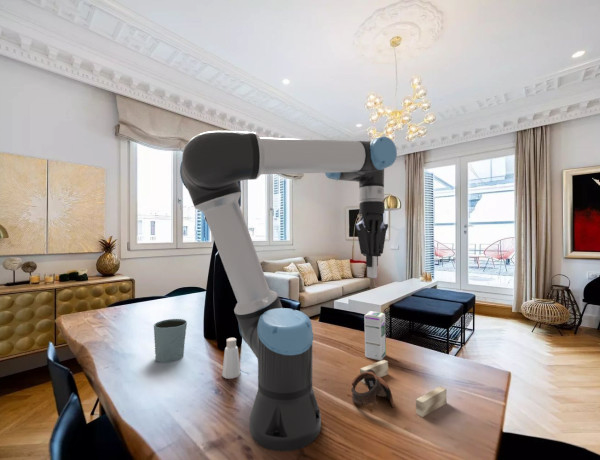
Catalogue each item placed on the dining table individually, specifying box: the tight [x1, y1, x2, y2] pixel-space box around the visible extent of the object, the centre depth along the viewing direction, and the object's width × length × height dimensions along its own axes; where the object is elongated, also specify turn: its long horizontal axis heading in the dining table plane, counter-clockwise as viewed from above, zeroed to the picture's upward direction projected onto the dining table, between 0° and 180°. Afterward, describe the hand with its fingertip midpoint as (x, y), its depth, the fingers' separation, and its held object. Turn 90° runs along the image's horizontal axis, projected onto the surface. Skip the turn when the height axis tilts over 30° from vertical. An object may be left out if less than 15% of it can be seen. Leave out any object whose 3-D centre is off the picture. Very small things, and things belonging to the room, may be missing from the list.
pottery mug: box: [351, 369, 395, 408], centre depth 69 cm, size 12×9×8 cm
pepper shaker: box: [221, 337, 241, 379], centre depth 82 cm, size 5×5×11 cm
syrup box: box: [363, 310, 387, 361], centre depth 95 cm, size 6×6×14 cm
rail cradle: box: [359, 359, 447, 418], centre depth 73 cm, size 10×19×4 cm, turn 33°
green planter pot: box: [153, 318, 188, 364], centre depth 94 cm, size 10×10×12 cm
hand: (372, 277), depth 86 cm, fingers closed
